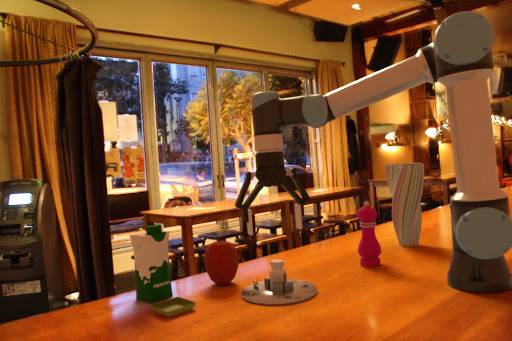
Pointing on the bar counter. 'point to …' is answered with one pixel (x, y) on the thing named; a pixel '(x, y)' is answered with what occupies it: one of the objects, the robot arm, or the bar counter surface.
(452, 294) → the bar counter surface
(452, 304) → the bar counter surface
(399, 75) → the robot arm
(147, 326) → the bar counter surface
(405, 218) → the vase
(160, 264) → the milk carton
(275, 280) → the pill bottle
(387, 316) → the bar counter surface
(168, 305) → the olive square tray
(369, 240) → the pepper mill
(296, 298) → the flange plate
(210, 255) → the apple
